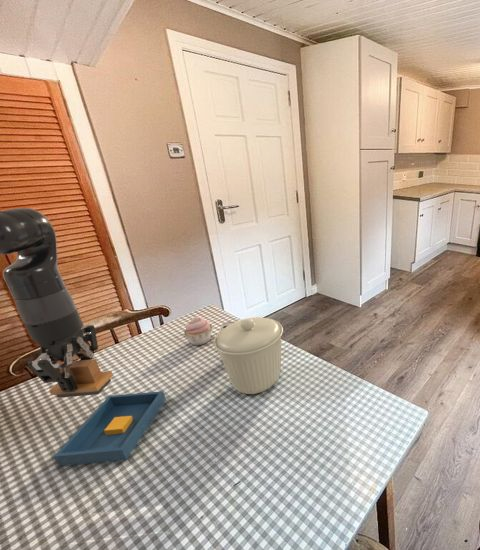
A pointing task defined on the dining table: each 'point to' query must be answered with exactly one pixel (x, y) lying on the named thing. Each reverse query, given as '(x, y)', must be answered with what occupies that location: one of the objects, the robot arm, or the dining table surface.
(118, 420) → the yellow square block
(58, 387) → the brown wooden stepped block
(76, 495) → the dining table surface
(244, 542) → the dining table surface
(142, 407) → the tray
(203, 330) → the cupcake
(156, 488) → the dining table surface
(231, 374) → the canister
